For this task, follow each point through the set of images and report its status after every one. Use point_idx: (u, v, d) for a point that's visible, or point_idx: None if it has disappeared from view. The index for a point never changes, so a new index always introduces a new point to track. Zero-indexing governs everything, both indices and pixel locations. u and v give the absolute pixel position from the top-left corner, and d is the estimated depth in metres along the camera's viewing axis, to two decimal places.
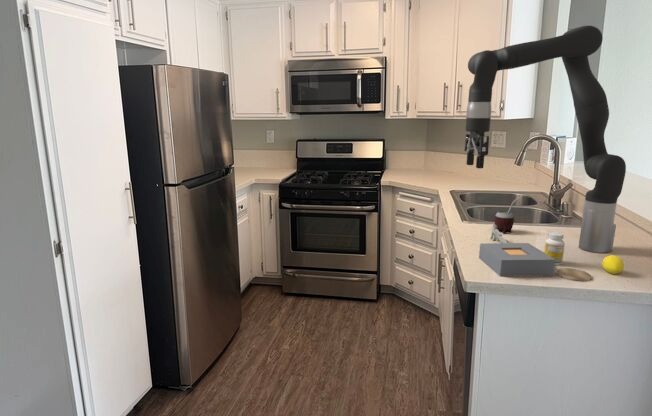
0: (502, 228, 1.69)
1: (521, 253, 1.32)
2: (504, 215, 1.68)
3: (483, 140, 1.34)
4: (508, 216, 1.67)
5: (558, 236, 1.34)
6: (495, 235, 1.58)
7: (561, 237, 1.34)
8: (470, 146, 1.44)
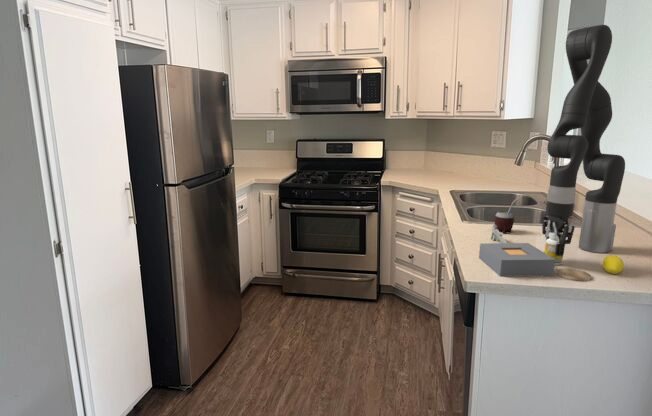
0: (502, 228, 1.69)
1: (521, 253, 1.32)
2: (504, 215, 1.68)
3: (567, 231, 1.28)
4: (508, 216, 1.67)
5: None
6: (495, 235, 1.58)
7: (561, 237, 1.34)
8: (550, 229, 1.38)
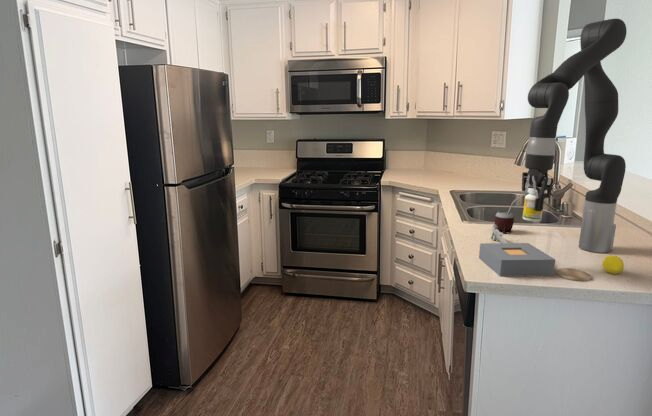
0: (502, 228, 1.69)
1: (521, 253, 1.32)
2: (504, 215, 1.68)
3: (546, 183, 1.23)
4: (508, 216, 1.67)
5: None
6: (495, 235, 1.58)
7: None
8: (529, 185, 1.32)
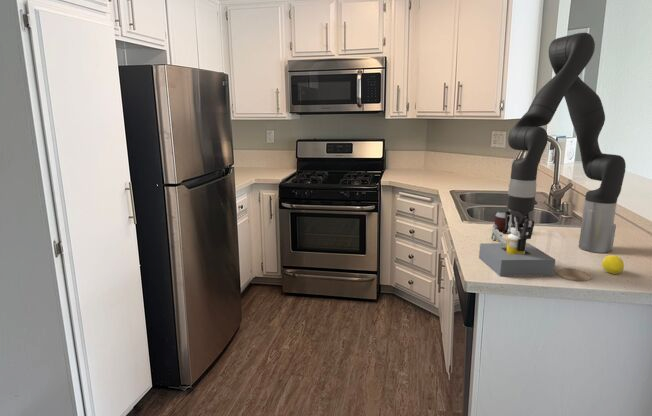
0: (502, 228, 1.69)
1: None
2: (504, 215, 1.68)
3: (527, 225, 1.24)
4: None
5: None
6: (495, 235, 1.58)
7: None
8: (512, 224, 1.34)
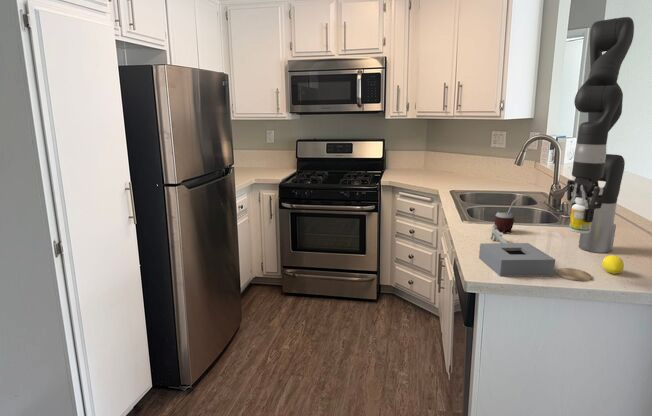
0: (502, 228, 1.69)
1: None
2: (504, 215, 1.68)
3: (598, 193, 1.15)
4: (508, 216, 1.67)
5: None
6: (495, 235, 1.58)
7: (589, 202, 1.20)
8: (576, 194, 1.24)
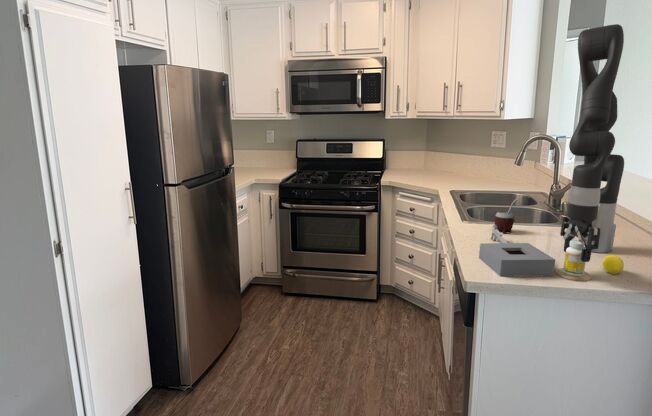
0: (502, 228, 1.69)
1: None
2: (504, 215, 1.68)
3: (593, 233, 1.17)
4: (508, 216, 1.67)
5: (580, 245, 1.23)
6: (495, 235, 1.58)
7: None
8: (570, 232, 1.27)
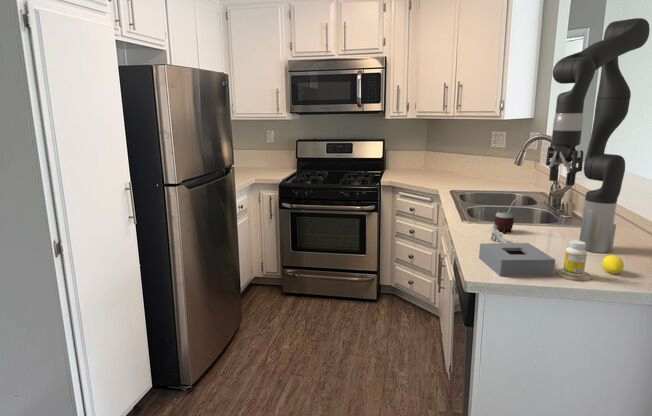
0: (502, 228, 1.69)
1: None
2: (504, 215, 1.68)
3: (577, 155, 1.22)
4: (508, 216, 1.67)
5: (580, 245, 1.23)
6: (495, 235, 1.58)
7: (583, 246, 1.23)
8: (555, 160, 1.32)
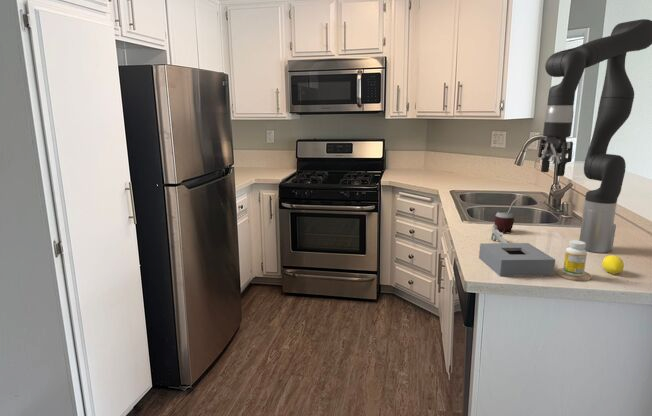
0: (502, 228, 1.69)
1: None
2: (504, 215, 1.68)
3: (566, 146, 1.25)
4: (508, 216, 1.67)
5: (580, 245, 1.23)
6: (495, 235, 1.58)
7: (583, 246, 1.23)
8: (546, 152, 1.36)
